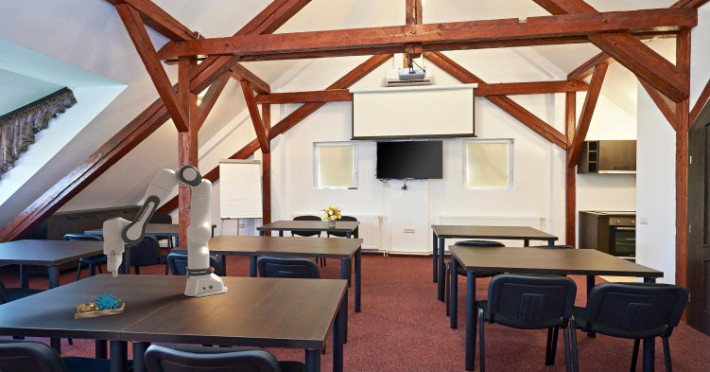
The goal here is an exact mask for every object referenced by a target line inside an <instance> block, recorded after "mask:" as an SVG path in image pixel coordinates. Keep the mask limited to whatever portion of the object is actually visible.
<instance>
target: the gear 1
mask: <svg viewBox="0 0 710 372" xmlns="http://www.w3.org/2000/svg"><path fill="white" fill-rule="evenodd" d="M96 303H97V302H89V301H86V302H84V303H81V304H80V305H77V306H76V308H77V310H76V311H77V312H76V313H85V312H94V311H98V310H97V307H98V305H96Z"/></svg>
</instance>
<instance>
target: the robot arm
mask: <svg viewBox="0 0 710 372" xmlns="http://www.w3.org/2000/svg"><path fill="white" fill-rule="evenodd" d="M177 185H182V186H189V187H190V188H191V197H190V209H189V215H190V216H189V217H190V220H189V221H190V223H189V224H190V225H188V226H187V230H186V243H187V268H186V278H187V279H186V286H185V291H184V295H185V296H190V297H195V298H196V297H197V298H201V297H208V296H213V295H219V294H225V293H227V292H228V287H227V286H226V285H224V282H223V279H222V278H221V277H220V276H218V275H217V274H215V273H214V272H215V268H214V267H212V266H210V251H209V241H210V240H211V238H212V233H213V232H212V231H213V230H212V226H213V225H212V224H213V223H212V205H213V184H212V182H211V181H210V180H209V179H207V178H203V177H202V174H201V172H200V170H199V168H198V167H197V166H195V165H192V164H185V165H183V166H180V168H178V169H176V170H173V169H171V168H162V169H160V171H159V172H158V173H156V175H155V176H154V178H153V179H152V180H151V181H150V183H149V185H148V187H147V189H146V192H145V194H144V199H143V203H142V206H141V208H140V209H139V211H138V213H137V214H136V216H135V218H134V219H133V221H130V220H127V219H124V218H122V217H121V216H115V217H112V218H108V219H106V220H105V221H103V226H102V236H103V254H104V255H106V257H107V263H106V264H107V268H106V269H107V272H111V273H112V278H117V277H118V275H119V274H118V273H119V267H120V266H121V264H122V262H123V253H125V244H128V245H137V244H139V243H141V242H142V241H143V240H144V239H145V235H146V228H147V225H148V224H149V222H150V220H151V219H152V217H153V216H154V214H155V212H156V211H157V210H158V209H159V208H160V207H161V206H162V205H163V204H164V203H165V202H166V200H168V198H169V196H171V193H172V192H173V190H174V188H175V187H177Z"/></svg>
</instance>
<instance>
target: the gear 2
mask: <svg viewBox="0 0 710 372" xmlns="http://www.w3.org/2000/svg"><path fill="white" fill-rule="evenodd" d="M107 295H108V296H107ZM112 296H113V294H112V293H109V294H108V293H103V294H99V296H98V297H97V298H96V299H95V301H96V302H95V303H96V305H97V307H98V310H101V311H102V310H111V309H118V307H119V306H120V304H119V303H120V302H121V298H118V299H117V296H116V295H114V296H113V297H112Z"/></svg>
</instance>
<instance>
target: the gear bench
mask: <svg viewBox="0 0 710 372" xmlns="http://www.w3.org/2000/svg"><path fill="white" fill-rule="evenodd" d="M125 306H126V304H125V302H123V303H122V304H121V307H120V308H117V309H113V308H112V309H111V310H109V309H107V310H102V309H101V310H99V308H98V307H99V306H97V311H94V312H85V313H77V312H76V313H75V314H74V319H75V320H76V319H77V320H78V319H85V318H94V317H102V316H110V315H117V314H122V313H123V311H124V308H125Z"/></svg>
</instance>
